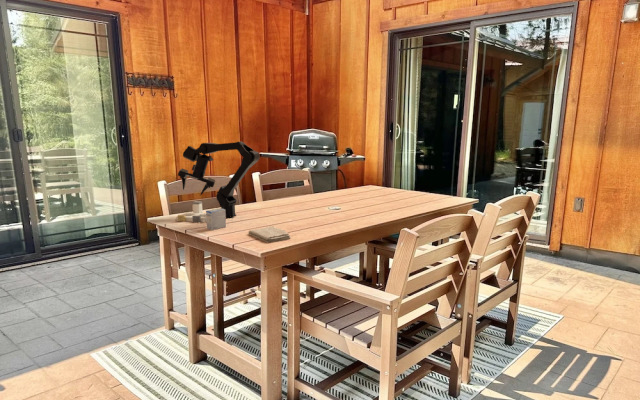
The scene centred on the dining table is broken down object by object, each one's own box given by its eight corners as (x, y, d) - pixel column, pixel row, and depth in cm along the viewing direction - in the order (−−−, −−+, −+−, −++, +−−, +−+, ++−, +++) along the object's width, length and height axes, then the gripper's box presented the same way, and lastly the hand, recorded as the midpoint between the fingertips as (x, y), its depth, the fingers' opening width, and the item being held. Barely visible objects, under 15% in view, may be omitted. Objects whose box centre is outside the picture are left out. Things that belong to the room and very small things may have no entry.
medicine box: (220, 225, 198) (219, 207, 197) (226, 227, 195) (225, 209, 194) (206, 228, 192) (205, 210, 191) (212, 230, 189) (211, 211, 188)
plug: (202, 214, 224) (201, 201, 223) (199, 215, 221) (198, 202, 219) (196, 213, 225) (195, 201, 224) (193, 215, 221) (192, 202, 220)
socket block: (213, 217, 216) (213, 211, 215) (202, 222, 204) (202, 216, 204) (187, 216, 219) (186, 210, 218) (174, 221, 208) (174, 215, 207)
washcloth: (267, 244, 168) (267, 237, 168) (247, 235, 183) (247, 228, 182) (292, 239, 176) (292, 232, 175) (270, 231, 190) (270, 224, 189)
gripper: (220, 167, 227) (211, 193, 231) (186, 155, 223) (177, 182, 227) (217, 173, 216) (208, 200, 220) (182, 160, 212) (173, 188, 216)
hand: (192, 192), depth 221 cm, fingers open, 9 cm apart
